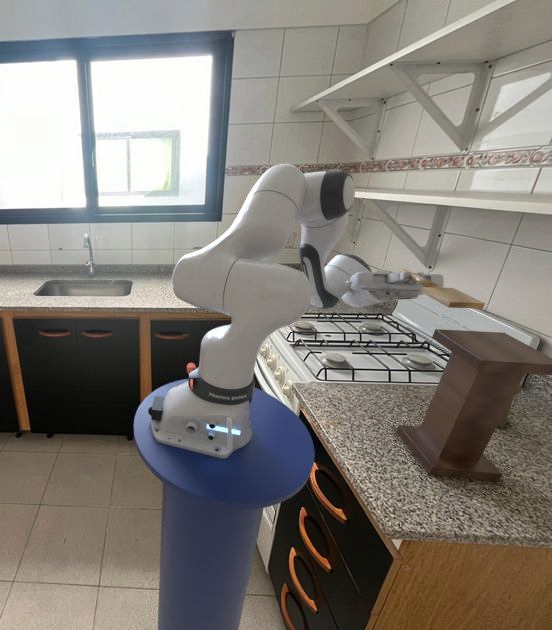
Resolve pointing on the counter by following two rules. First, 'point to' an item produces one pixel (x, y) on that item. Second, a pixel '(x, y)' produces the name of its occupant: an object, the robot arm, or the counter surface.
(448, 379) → the stand
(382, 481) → the counter surface
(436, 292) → the spatula
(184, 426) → the robot arm
